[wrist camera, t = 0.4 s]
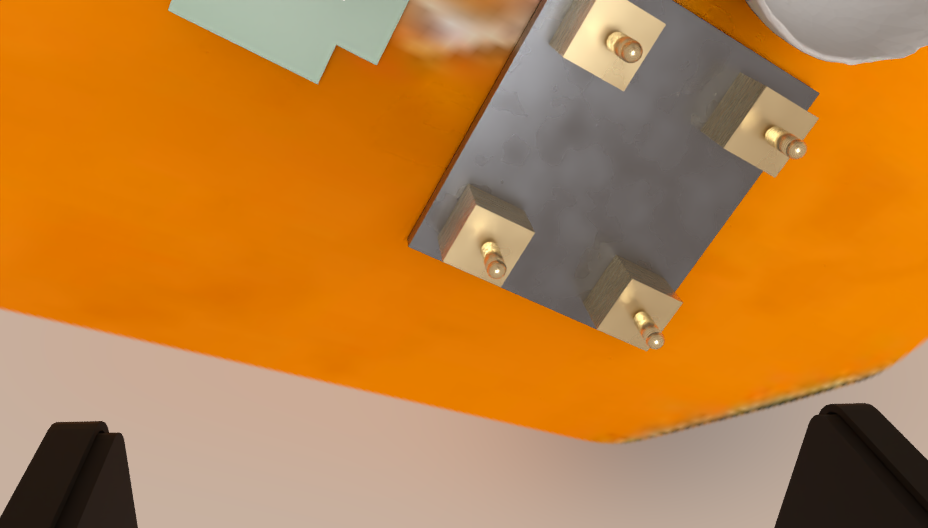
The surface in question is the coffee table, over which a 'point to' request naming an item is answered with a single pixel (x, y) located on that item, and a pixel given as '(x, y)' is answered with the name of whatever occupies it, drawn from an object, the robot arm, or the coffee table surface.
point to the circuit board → (298, 28)
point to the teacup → (848, 27)
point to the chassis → (612, 160)
